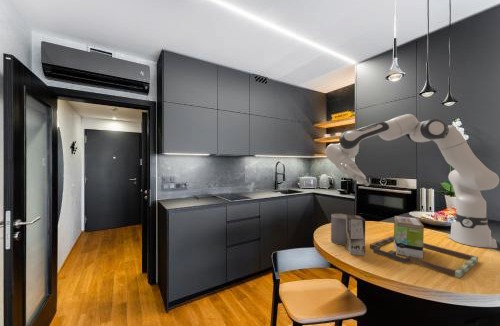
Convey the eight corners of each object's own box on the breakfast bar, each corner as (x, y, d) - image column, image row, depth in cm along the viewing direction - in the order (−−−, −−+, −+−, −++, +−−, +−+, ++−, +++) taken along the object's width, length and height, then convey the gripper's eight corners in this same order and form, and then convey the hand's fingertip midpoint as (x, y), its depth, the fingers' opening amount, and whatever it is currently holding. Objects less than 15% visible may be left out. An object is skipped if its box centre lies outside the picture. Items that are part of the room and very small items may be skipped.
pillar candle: (338, 237, 121) (338, 210, 121) (354, 242, 113) (355, 213, 113) (327, 240, 116) (327, 212, 116) (343, 246, 108) (344, 216, 108)
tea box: (424, 259, 94) (424, 225, 94) (396, 254, 99) (396, 222, 99) (417, 247, 108) (417, 217, 108) (393, 243, 112) (393, 215, 112)
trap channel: (393, 238, 120) (393, 235, 120) (477, 261, 92) (477, 257, 92) (365, 249, 104) (365, 245, 104) (456, 281, 77) (456, 275, 77)
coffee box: (365, 255, 98) (365, 219, 98) (350, 254, 99) (350, 219, 99) (359, 248, 107) (359, 214, 106) (345, 246, 108) (345, 214, 108)
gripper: (344, 158, 114) (364, 177, 106) (357, 165, 129) (375, 182, 121) (335, 167, 117) (354, 186, 109) (348, 172, 131) (366, 189, 123)
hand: (365, 184), depth 115 cm, fingers open, 8 cm apart
